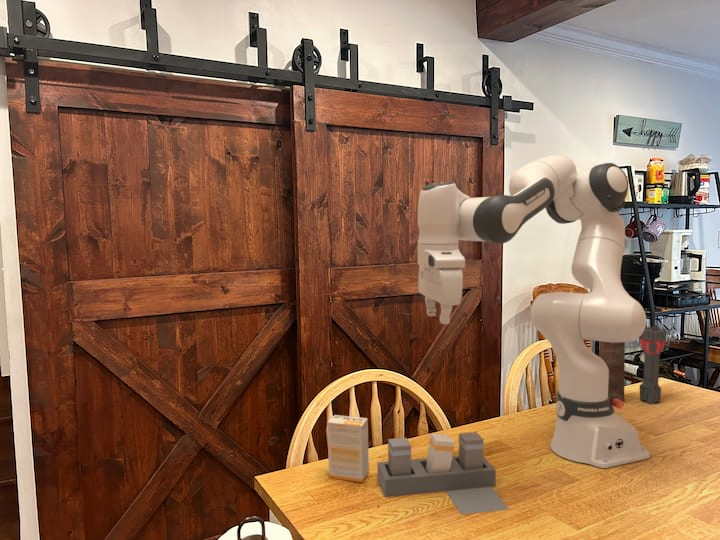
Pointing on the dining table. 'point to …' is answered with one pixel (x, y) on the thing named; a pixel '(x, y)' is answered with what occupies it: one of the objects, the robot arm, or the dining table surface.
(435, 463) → the plug
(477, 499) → the mat
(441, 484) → the strip
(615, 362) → the brown tall block
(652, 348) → the flashlight
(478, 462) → the twin plug
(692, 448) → the dining table surface
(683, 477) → the dining table surface
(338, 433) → the supplement box
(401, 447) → the twin plug
